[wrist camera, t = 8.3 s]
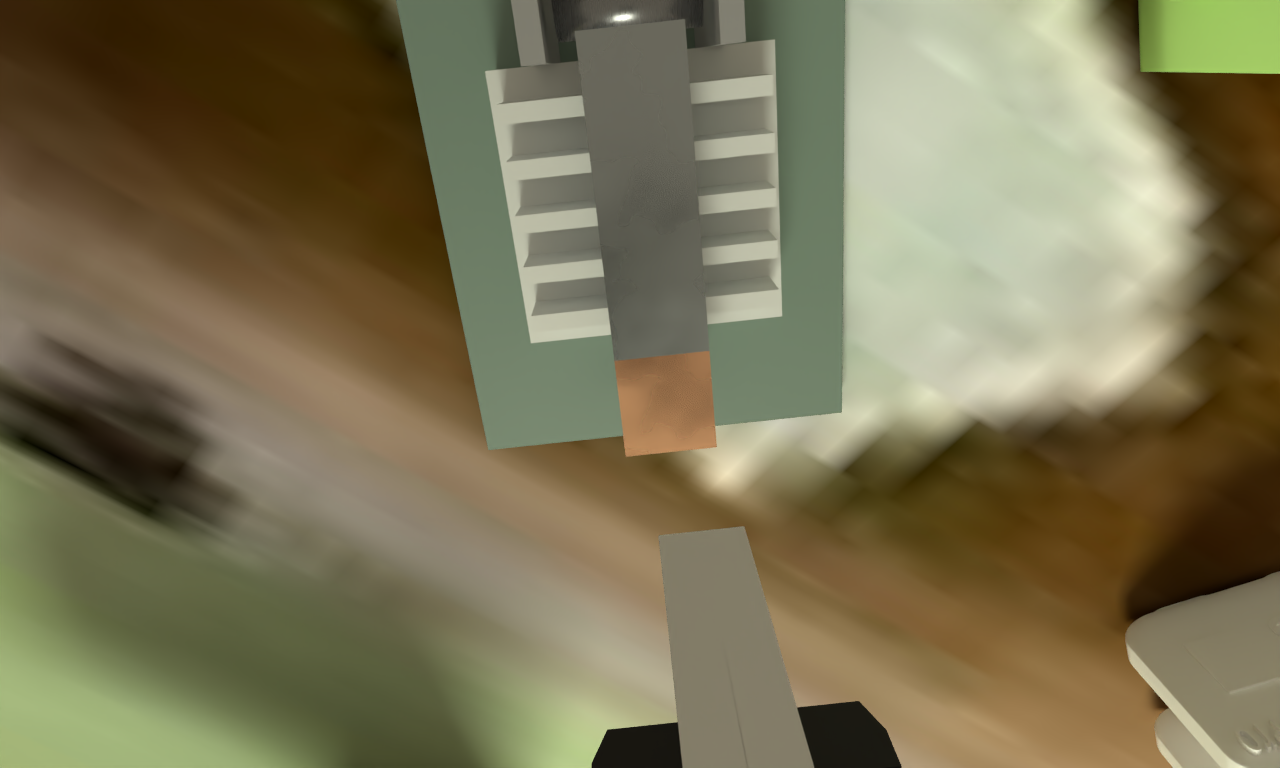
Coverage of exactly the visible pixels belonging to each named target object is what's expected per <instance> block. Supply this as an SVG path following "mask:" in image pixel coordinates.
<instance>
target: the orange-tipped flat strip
mask: <svg viewBox="0 0 1280 768" xmlns="http://www.w3.org/2000/svg"><path fill="white" fill-rule="evenodd" d="M551 1H552V9H553V16H554V23H555V29H556V35H557V39H558V43H560V42H569V41H576V47H577V55H578V64H579V72H580V80H581V89H582V97H583V105H584V114H585V122H586V130H587V138H588V147H589V155H590V163H591V172H592V180H593V188H594V196H595V205H596V213H597V221H598V230H599V238H600V246H601V255H602V263H603V271H604V279H605V288H606V296H607V304H608V313H609V321H610V329H611V337H612V346H613V354H614V362H615V371H616V379H617V387H618V396H619V404H620V412H621V420H622V429H623V437H624V445H625V454H626V457H627V456H636V455H646V454H655V453H665V452H674V451H684V450H693V449H702V448H712V447H717V446H716V432H715V419H714V405H713V392H712V378H711V365H710V351H709V338H708V324H707V311H706V297H705V283H704V270H703V256H702V243H701V229H700V216H699V202H698V189H697V175H696V162H695V148H694V135H693V121H692V108H691V94H690V80H689V67H688V53H687V40H686V29H687V28H696V27H702V25H703V0H551Z"/></svg>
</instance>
